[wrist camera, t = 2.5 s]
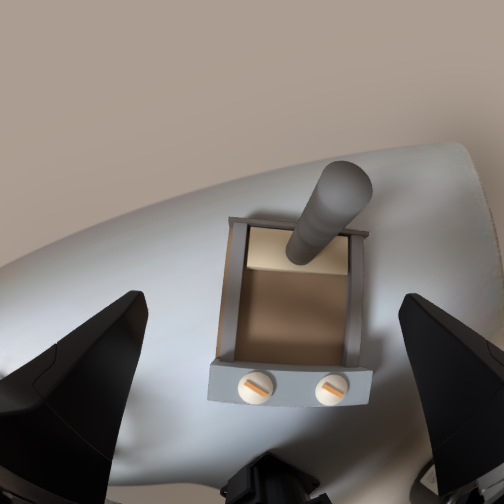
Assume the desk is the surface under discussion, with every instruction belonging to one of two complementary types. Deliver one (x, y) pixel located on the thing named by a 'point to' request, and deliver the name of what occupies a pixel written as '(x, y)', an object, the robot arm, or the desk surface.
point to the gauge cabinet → (288, 384)
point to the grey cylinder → (315, 227)
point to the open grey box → (289, 307)
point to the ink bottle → (434, 489)
